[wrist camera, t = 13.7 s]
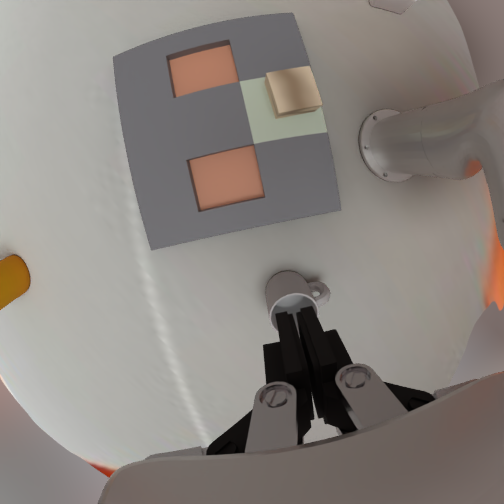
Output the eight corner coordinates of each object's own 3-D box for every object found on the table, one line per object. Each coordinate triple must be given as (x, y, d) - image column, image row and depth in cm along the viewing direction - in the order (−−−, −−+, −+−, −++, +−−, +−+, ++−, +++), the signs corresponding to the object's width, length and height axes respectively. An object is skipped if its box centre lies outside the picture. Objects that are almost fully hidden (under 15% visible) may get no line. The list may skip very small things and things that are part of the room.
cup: (259, 277, 45) (262, 302, 37) (316, 258, 45) (332, 279, 36) (272, 313, 47) (277, 342, 39) (326, 295, 47) (341, 321, 38)
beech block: (303, 75, 34) (309, 65, 29) (314, 111, 35) (322, 104, 31) (264, 82, 34) (266, 72, 30) (275, 119, 36) (279, 113, 31)
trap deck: (290, 19, 32) (292, 12, 30) (336, 207, 42) (341, 210, 40) (118, 61, 34) (112, 57, 31) (156, 246, 44) (151, 250, 41)
